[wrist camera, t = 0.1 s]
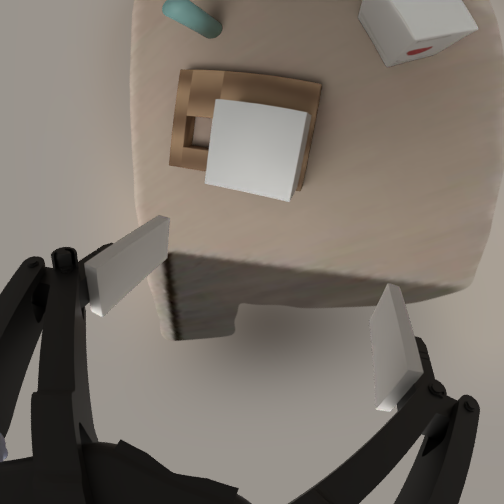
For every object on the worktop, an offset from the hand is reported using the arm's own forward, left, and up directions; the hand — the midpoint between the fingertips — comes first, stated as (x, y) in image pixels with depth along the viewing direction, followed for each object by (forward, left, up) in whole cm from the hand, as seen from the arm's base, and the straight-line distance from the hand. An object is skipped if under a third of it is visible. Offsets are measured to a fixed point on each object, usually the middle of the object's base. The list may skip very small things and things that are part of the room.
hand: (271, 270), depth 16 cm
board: (-6, -11, -28) cm, 30 cm away
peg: (-21, -18, -28) cm, 39 cm away
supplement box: (-25, +9, -28) cm, 39 cm away
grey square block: (-4, -6, -25) cm, 26 cm away
